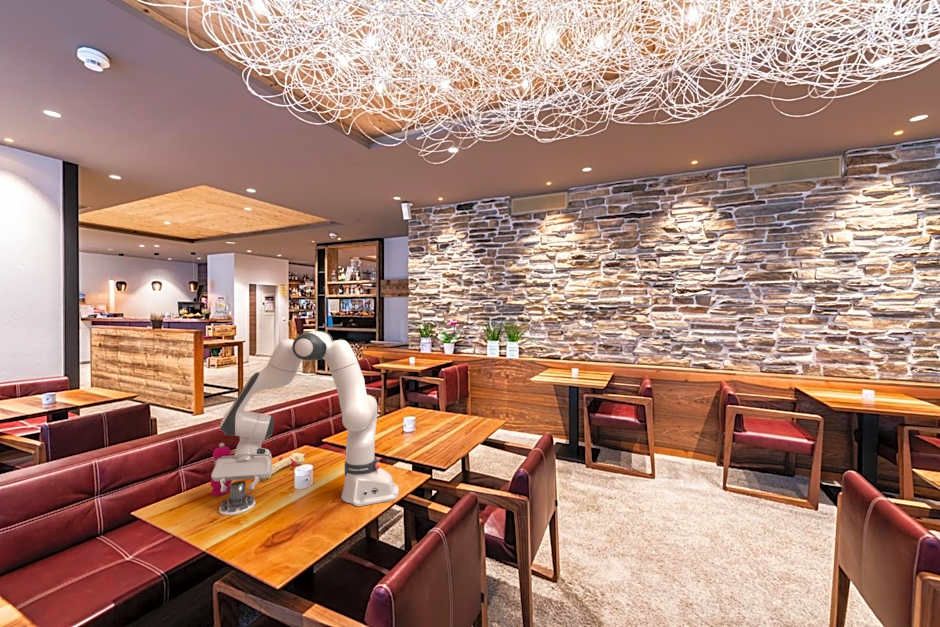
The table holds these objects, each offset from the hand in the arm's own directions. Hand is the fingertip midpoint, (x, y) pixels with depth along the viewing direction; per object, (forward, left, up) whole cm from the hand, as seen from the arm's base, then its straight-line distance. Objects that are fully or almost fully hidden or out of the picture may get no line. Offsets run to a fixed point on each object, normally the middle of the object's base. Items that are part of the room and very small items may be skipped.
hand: (237, 490), depth 143 cm
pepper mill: (+11, -15, -7) cm, 20 cm away
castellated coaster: (0, -1, -7) cm, 7 cm away
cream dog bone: (-7, -34, -7) cm, 35 cm away
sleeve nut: (0, -1, -6) cm, 6 cm away
